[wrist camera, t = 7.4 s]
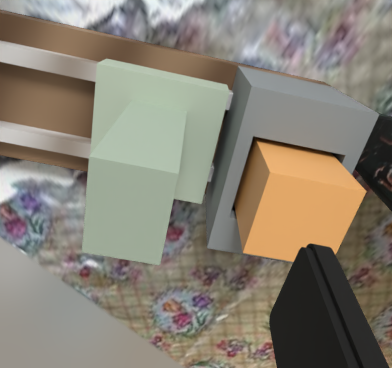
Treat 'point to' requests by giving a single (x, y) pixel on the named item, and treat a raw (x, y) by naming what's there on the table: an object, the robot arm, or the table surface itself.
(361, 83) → the table surface
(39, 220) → the table surface
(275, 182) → the button
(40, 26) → the track
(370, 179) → the green animal statue
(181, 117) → the carriage
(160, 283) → the table surface
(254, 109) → the grey block
